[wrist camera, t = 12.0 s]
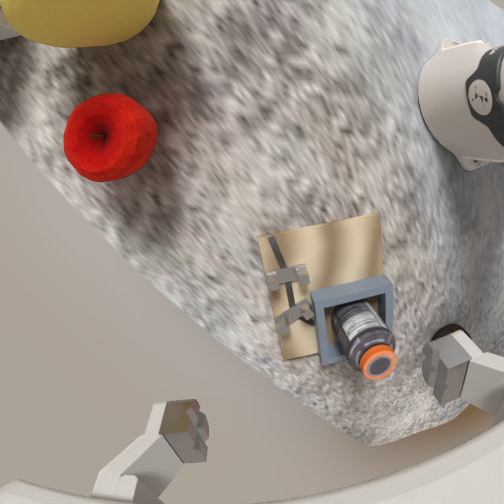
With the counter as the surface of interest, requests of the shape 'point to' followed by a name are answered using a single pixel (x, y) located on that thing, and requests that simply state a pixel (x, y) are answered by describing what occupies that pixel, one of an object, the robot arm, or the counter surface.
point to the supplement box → (6, 27)
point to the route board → (321, 270)
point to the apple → (109, 137)
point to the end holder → (343, 295)
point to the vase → (79, 20)
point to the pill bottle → (364, 338)
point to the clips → (300, 307)
